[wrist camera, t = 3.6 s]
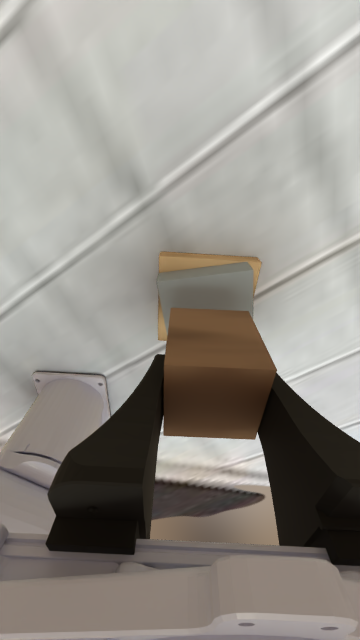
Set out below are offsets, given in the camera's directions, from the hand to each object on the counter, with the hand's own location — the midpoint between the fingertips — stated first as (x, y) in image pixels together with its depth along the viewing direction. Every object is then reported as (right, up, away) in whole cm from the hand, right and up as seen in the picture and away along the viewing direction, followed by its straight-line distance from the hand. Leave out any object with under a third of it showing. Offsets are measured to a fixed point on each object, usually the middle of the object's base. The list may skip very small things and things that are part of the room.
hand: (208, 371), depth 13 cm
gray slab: (+1, +4, +8) cm, 9 cm away
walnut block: (0, +1, +2) cm, 2 cm away
